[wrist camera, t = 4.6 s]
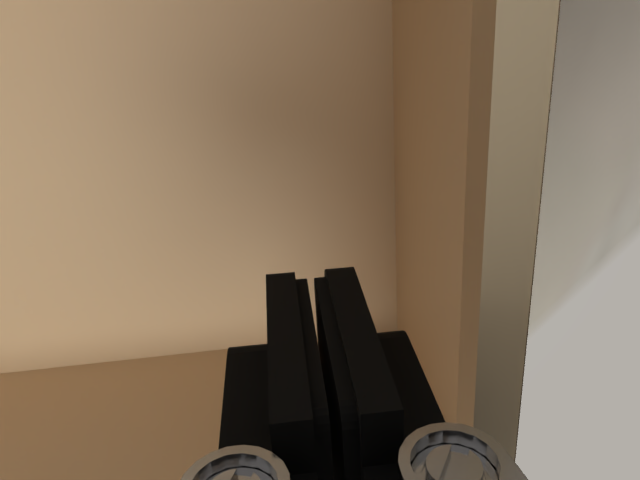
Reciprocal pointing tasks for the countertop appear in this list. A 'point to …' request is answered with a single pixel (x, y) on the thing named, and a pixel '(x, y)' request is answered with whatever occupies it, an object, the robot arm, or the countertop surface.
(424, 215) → the carton
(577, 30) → the countertop surface
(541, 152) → the flap
